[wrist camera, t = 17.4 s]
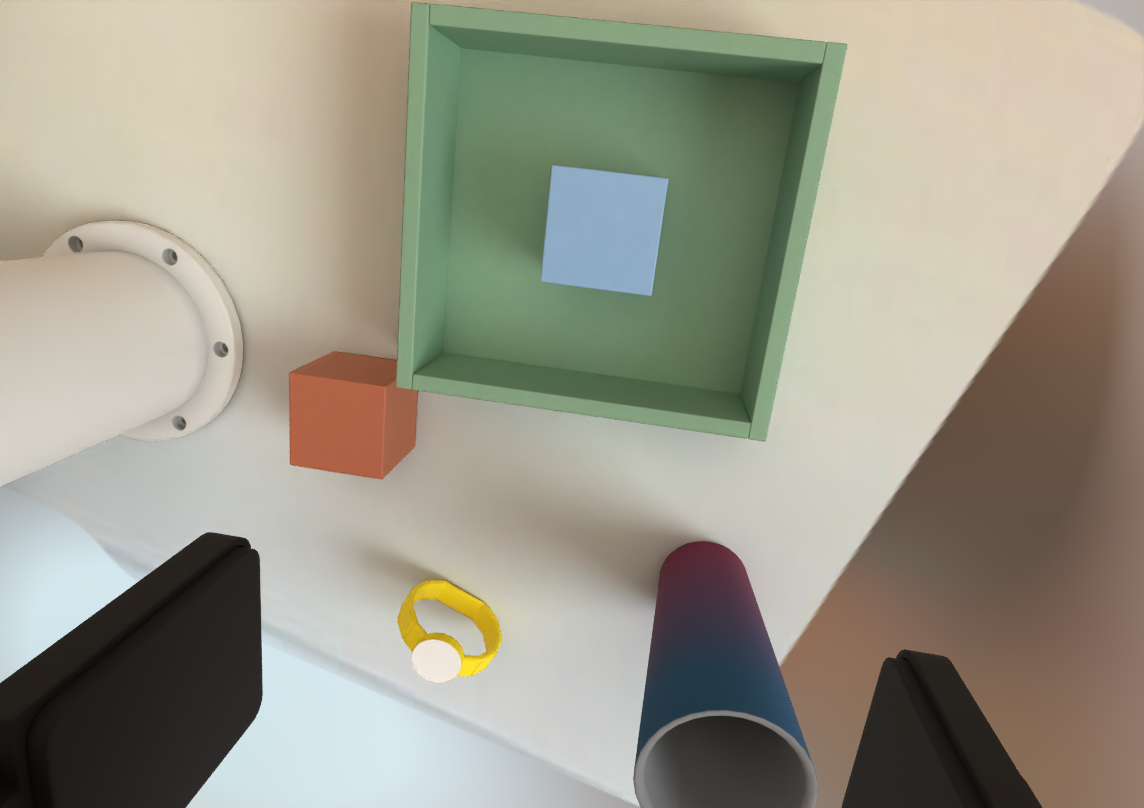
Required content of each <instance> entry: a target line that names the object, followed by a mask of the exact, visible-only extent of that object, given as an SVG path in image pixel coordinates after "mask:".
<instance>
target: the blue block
mask: <svg viewBox="0 0 1144 808" xmlns="http://www.w3.org/2000/svg"><path fill="white" fill-rule="evenodd" d="M667 186H668V178H663V177H654V176H645V175H637V174H628V173H619V172H611V171H602V170H593V169H585V168H576V167H567V166H559V165H552V168H551V178H550V188H549V198H548V209H547V219H546V229H545V239H544V249H543V259H542V270H541V282H546V283H554V284H561V285H569V286H577V287H584V288H592V289H600V290H607V291H615V292H623V293H630V294H638V295H646V296H651V295H652V289H653V282H654V275H655V268H656V261H657V255H658V248H659V241H660V234H661V227H662V220H663V213H664V207H665V200H666V193H667Z"/></svg>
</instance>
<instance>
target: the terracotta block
mask: <svg viewBox="0 0 1144 808" xmlns="http://www.w3.org/2000/svg"><path fill="white" fill-rule="evenodd" d="M396 375H397V360H390V359H383V358H376V357H369V356H362V355H355V354H348V353H341V352H332V353H330V354H328V355H326V356H323V357H321V358H319V359H317V360H315V361H313V362H311V363H309V364H307V365H304V366H302V367H300V368H298V369H296V370H294V371H292V372H290V373H289V399H290V465H294V466H300V467H306V468H313V469H319V470H325V471H332V472H338V473H344V474H351V475H357V476H363V477H370V478H376V479H383V478H384V477H385V476H386V475H387V474H388V473H389V472H390V471H391V470H392V469H393V468H394V467H395V466H396V465H397V464H398V463H399V462H400V461H401V460H402V459H403V458H404V457H405V456H406V455H407V454H408V453H409V452H410V451H411V450H412V449H413V448H414V447H415V436H416V416H417V395H418V390H413V389H405V388H398V387H396Z"/></svg>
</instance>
